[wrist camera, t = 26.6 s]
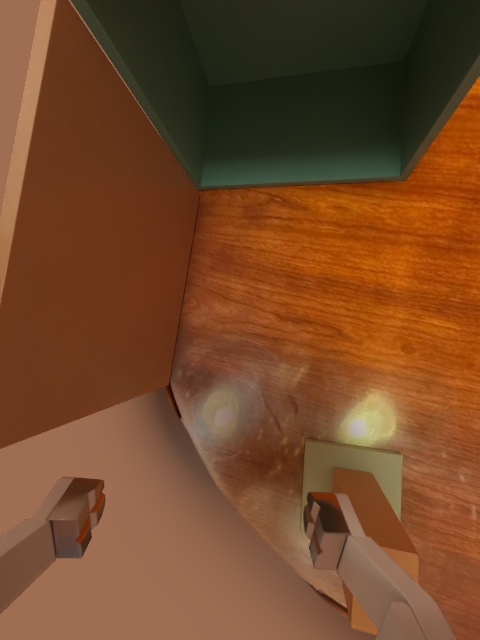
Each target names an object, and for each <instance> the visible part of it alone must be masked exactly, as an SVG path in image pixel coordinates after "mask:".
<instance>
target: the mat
mask: <svg viewBox="0 0 480 640" xmlns="http://www.w3.org/2000/svg"><path fill="white" fill-rule="evenodd" d="M402 464H403V455H402V454H401V453H400V452H395V451H389V450H382V449H375V448H368V447H361V446H354V445H348V444H341V443H334V442H327V441H320V440H313V439H307V438H305V451H304V469H303V487H302V505H301V523H300V532H301V533H305V529H304V523H303V511H304V506H306V505H307V504H308V502H307V494H308V492H309V491H310V492H332V480H333V466H334V467H340V468H346V469H352V470H358V471H364V472H370V473H373V475H374V477H375V479H376V480H377V482H378V484H379V486H380V487H381V489H382V491H383V493H384V495H385V496H386V498H387V500H388V502H389V503H390V505H391V507H392V509H393V510H394V512H395V514H396V516H397V517H398V519H399V521H400V517H401V490H402Z"/></svg>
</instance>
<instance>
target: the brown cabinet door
mask: <svg viewBox="0 0 480 640" xmlns="http://www.w3.org/2000/svg"><path fill="white" fill-rule="evenodd" d="M199 197H200V195H199V194H198V192H197V191H196V189H195V188H194V186H193V185H192V184H191V182H190V181H189V179H188V178H187V176H186V175H185V173H184V172H183V170H182V169H181V167H180V166H179V164H178V163H177V161H176V160H175V158H174V157H173V155H172V154H171V152H170V151H169V149H168V148H167V146H166V145H165V143H164V142H163V140H162V139H161V137H160V136H159V135H158V133H157V131H156V130H155V129H154V127H153V126H152V124H151V123H150V121H149V120H148V118H147V117H146V115H145V114H144V112H143V111H142V109H141V108H140V106H139V105H138V103H137V102H136V100H135V99H134V97H133V96H132V94H131V93H130V91H129V90H128V88H127V87H126V86H125V84H124V82H123V81H122V79H121V78H120V77H119V75H118V74H117V72H116V71H115V69H114V68H113V66H112V65H111V63H110V62H109V61H108V59H107V57H106V56H105V54H104V53H103V51H102V50H101V48H100V47H99V45H98V44H97V42H96V41H95V39H94V38H93V37H92V35H91V33H90V32H89V31H88V29H87V27H86V26H85V24H84V23H83V21H82V20H81V19H80V17H79V16H78V14H77V13H76V11H75V10H74V8H73V7H72V6H71V4H70V2H69V1H68V0H41V3H40V8H39V14H38V19H37V24H36V30H35V35H34V40H33V46H32V51H31V57H30V62H29V67H28V72H27V78H26V83H25V88H24V94H23V99H22V104H21V110H20V115H19V120H18V126H17V131H16V137H15V142H14V147H13V152H12V157H11V163H10V169H9V174H8V180H7V184H6V190H5V195H4V200H3V205H2V211H1V216H0V449H1V448H4V447H6V446H9V445H11V444H14V443H17V442H19V441H22V440H25V439H27V438H30V437H32V436H35V435H38V434H41V433H43V432H46V431H49V430H51V429H54V428H56V427H59V426H61V425H64V424H67V423H70V422H72V421H74V420H78V419H80V418H83V417H85V416H88V415H91V414H93V413H96V412H98V411H101V410H104V409H106V408H109V407H111V406H114V405H117V404H120V403H122V402H125V401H128V400H130V399H133V398H135V397H138V396H141V395H143V394H146V393H149V392H151V391H153V390H156V389H159V388H162V387H164V386H167V385H169V380H170V374H171V368H172V362H173V356H174V350H175V344H176V338H177V331H178V325H179V319H180V313H181V307H182V301H183V295H184V289H185V283H186V276H187V270H188V264H189V258H190V252H191V246H192V240H193V234H194V228H195V221H196V215H197V209H198V203H199Z"/></svg>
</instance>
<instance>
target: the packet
mask: <svg viewBox="0 0 480 640" xmlns="http://www.w3.org/2000/svg"><path fill="white" fill-rule="evenodd" d="M332 493H345V494H347V496H348V497H349V499H350V502H351V504H352V506H353V508H354V511H355V513H356V515H357V517H358V519H359V522H360V524H361V526H362V528H363V531H364V533H365V535H366V536H368V537H371V538H372V539H373V540H374V541H375V542H376V543H377V544H378V545H379V546H380V547H381V548H382V549H383V550H384V551H385V552H386V553H387V554H388V555H389V556H390V557H391V558H392V559H393V560H394V561H395V562H396V563H397V564H398V565H399V566H400V567H401V568H402V569H403V570H404V571H405V572H406V573H407V574H408V575H409V576H410V577H411V578H412V579H414V580H415V581H416V582H417V583H418V566H419V554H418V552H417V551H416V549H415V547H414V545H413V544H412V542H411V540H410V538H409V537H408V535H407V533H406V531H405V530H404V528H403V526H402V524H401V523H400V521H399V519H398V517H397V516H396V514H395V512H394V510H393V509H392V507H391V505H390V503H389V502H388V500H387V498H386V496H385V495H384V493H383V491H382V489H381V487H380V486H379V484H378V482H377V480H376V479H375V477H374V475H373V473H370V472H364V471H358V470H352V469H346V468H340V467H334V466H333V480H332ZM342 583H343V589H344V594H345V599H346V604H347V609H348V614H349V620H350V625H351V628H353V629H357V630H360V631H364V632H367V633H370V634H374V635H377V634H378V629H377V628H376V627H375V625H374V624H373V622H372V621H371V619H370V618H369V617H368V615H367V614H366V612H365V611H364V610H363V608H362V607H361V605H360V604H359V603H358V601H357V600H356V598H355V597H354V596H353V594H352V593H351V591H350V590H349V588H348V587H347V586H346V584H345V583H344V581H343V580H342Z"/></svg>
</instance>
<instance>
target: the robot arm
mask: <svg viewBox="0 0 480 640" xmlns="http://www.w3.org/2000/svg"><path fill="white" fill-rule="evenodd" d="M103 488H104V480H98V479H87V478H74V477H62V478H61V479H59V480H58V481H57V483H56V484H55V485H54V487H53V488H52V490H51V491H50V492H49V494H48V495H47V496H46V498H45V499H44V501H43V502H42V503H41V505H40V506H39V508H38V509H37V510H36V512H35V513H34V514H33V516H32V517H31V518H30V519H25V520H24V521H22V522H21V523H19V524H18V525H16V526H15V527H13V528H12V529H11V530H9V531H8V532H6V533H5V534H3V535H2V536H0V614H1V613H2V612H3V611H4V610H5V609H6V608H7V607H8V606H9V605H10V604H11V603H12V602H13V601H14V600H15V599H16V598H17V597H18V596H20V595H21V594H22V593H23V592H24V590H25V589H27V588H28V587H29V586H30V585H31V584H32V583H33V582H34V581H35V580H36V579H37V578H38V577H39V576H40V575H41V574H42V573H43V572H44V571H45V570H46V569H47V568H48V567H49V566H50V565H51V564H52V563H53V562H54V561H55V560H56V558H82V557H83V554H84V552H85V550H86V548H87V546H88V544H89V542H90V540H91V538H92V536H91V530H92V529H93V528H94V527H95V526H96V525H98V523H99V521H100V518H101V516H102V513H103V510H104V505H105V495H104V494H103V493H102V490H103ZM307 502H308V504H307V505H306V506H304V511H303V523H304V529H305V534H306V536H307V537H308V538H309V539H310V540H311V541H310V546H309V550H310V554H311V558H312V562H313V566H314V569H327V570H337V573H338V574H339V576H340V577H341V579H342V580H343V581H344V583H345V584H346V586H347V587H348V588H349V590H350V591H351V593H352V594H353V596H354V597H355V598H356V600H357V601H358V603H359V604H360V605H361V607H362V608H363V610H364V611H365V612H366V614H367V615H368V617H369V618H370V619H371V621H372V622H373V624H374V625H375V627H376V628H377V629H378V634H377V636H376V638H375V640H457V639H456V637H455V635H454V634H453V632H452V630H451V628H450V626H449V625H448V623H447V621H446V619H445V617H444V616H443V614H442V612H441V610H440V608H439V607H438V605H437V603H436V601H435V600H434V599H433V598H432V597H431V596H430V595H429V594H428V593H427V592H426V591H425V590H424V589H423V588H422V587H421V586H420V585H419V584H418V583H417V582H416V581H415V580H414V579H412V578H411V577H410V576H409V575H408V574H407V573H406V572H405V571H404V570H403V569H402V568H401V567H400V566H399V565H398V564H397V563H396V562H395V561H394V560H393V559H392V558H391V557H390V556H389V555H388V554H387V553H386V552H385V551H384V550H383V549H382V548H381V547H380V546H379V545H378V544H377V543H376V542H375V541H374V540H373V539H372V538H371V537H368V536H366V535H365V533H364V531H363V528H362V526H361V524H360V522H359V519H358V517H357V515H356V513H355V511H354V508H353V506H352V504H351V502H350V499H349V497H348V496H347V494H345V493H332V492H310V491H309V492H308V494H307Z"/></svg>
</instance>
